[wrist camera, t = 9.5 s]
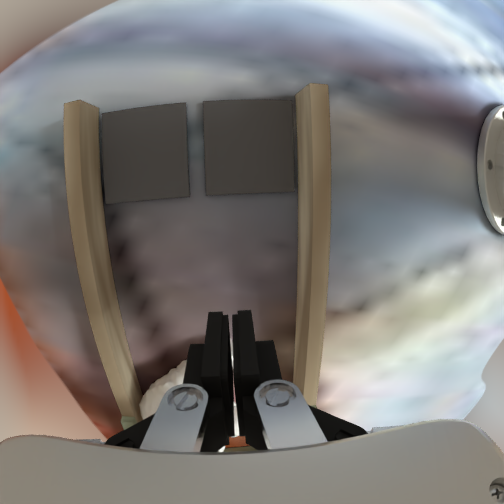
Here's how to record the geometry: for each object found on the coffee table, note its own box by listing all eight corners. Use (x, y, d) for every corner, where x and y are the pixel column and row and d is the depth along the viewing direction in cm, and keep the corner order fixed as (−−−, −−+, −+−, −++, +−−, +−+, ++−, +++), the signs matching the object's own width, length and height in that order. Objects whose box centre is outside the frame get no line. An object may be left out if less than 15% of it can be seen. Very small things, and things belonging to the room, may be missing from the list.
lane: (311, 95, 17) (335, 80, 13) (298, 445, 25) (307, 476, 21) (85, 111, 15) (55, 100, 11) (154, 454, 24) (150, 485, 20)
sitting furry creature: (263, 417, 23) (291, 538, 12) (169, 435, 23) (162, 550, 11) (234, 330, 21) (258, 481, 9) (122, 354, 20) (75, 489, 9)
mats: (290, 101, 17) (291, 100, 16) (293, 191, 18) (294, 192, 18) (103, 114, 15) (101, 113, 15) (107, 203, 17) (105, 204, 17)
